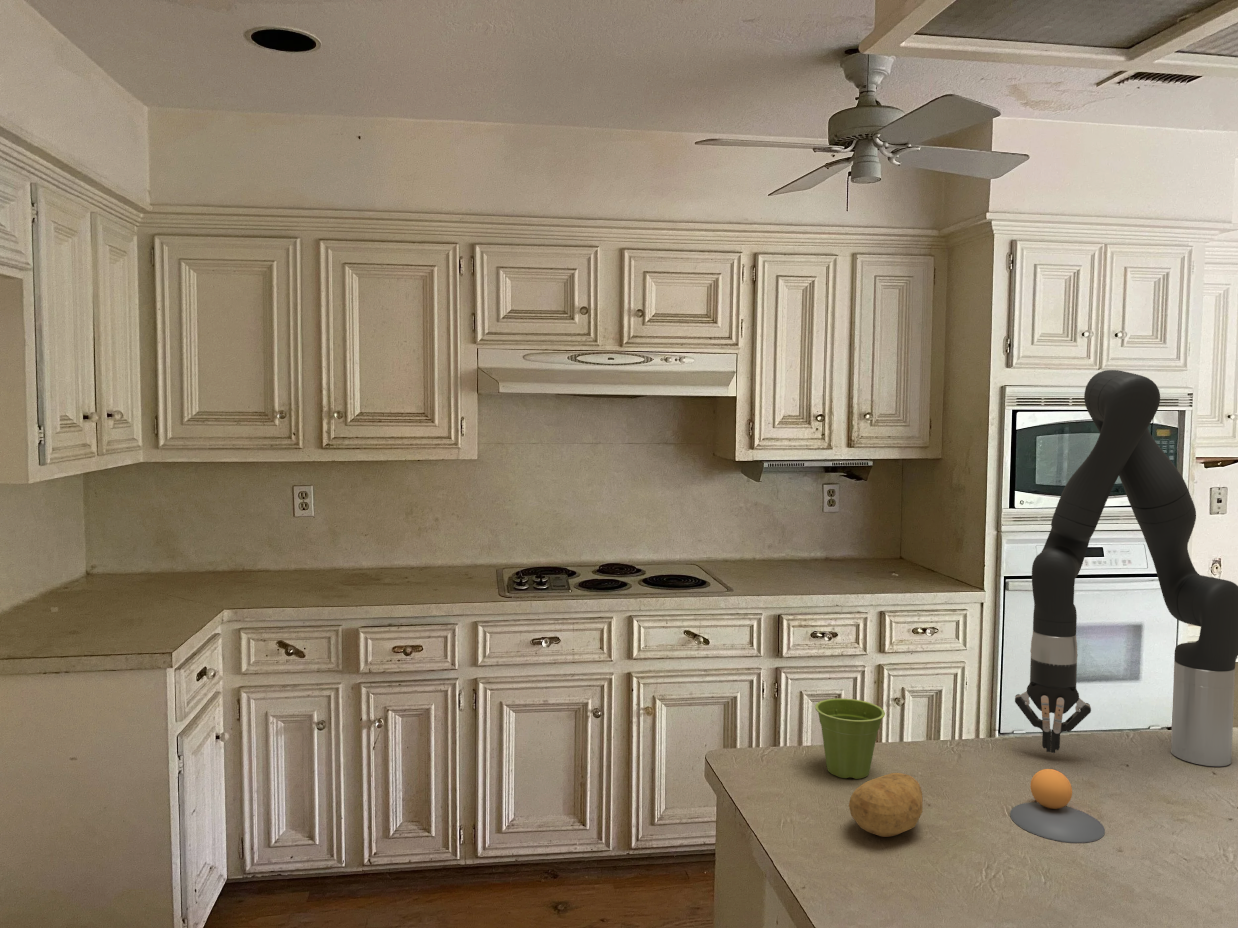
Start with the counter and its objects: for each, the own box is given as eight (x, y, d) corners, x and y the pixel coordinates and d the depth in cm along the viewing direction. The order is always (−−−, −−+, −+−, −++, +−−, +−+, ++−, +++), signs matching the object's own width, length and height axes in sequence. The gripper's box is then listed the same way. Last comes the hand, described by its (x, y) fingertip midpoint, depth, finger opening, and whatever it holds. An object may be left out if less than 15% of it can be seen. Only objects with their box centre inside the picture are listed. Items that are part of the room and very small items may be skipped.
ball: (1044, 757, 143) (1041, 765, 138) (1080, 780, 140) (1079, 790, 135) (1024, 787, 144) (1021, 796, 139) (1060, 811, 141) (1058, 821, 136)
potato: (940, 825, 134) (941, 774, 133) (894, 858, 124) (895, 803, 123) (881, 805, 141) (882, 756, 140) (834, 834, 131) (834, 782, 130)
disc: (1039, 796, 144) (1039, 795, 144) (1121, 827, 133) (1121, 825, 133) (993, 816, 136) (993, 815, 136) (1075, 851, 126) (1075, 850, 126)
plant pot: (876, 791, 146) (877, 724, 145) (806, 777, 151) (806, 713, 151) (890, 765, 156) (891, 704, 156) (824, 753, 162) (825, 693, 161)
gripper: (1012, 657, 158) (1010, 752, 159) (1096, 667, 152) (1093, 764, 153) (1014, 647, 164) (1011, 738, 165) (1094, 656, 159) (1091, 749, 160)
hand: (1050, 750), depth 159 cm, fingers closed
